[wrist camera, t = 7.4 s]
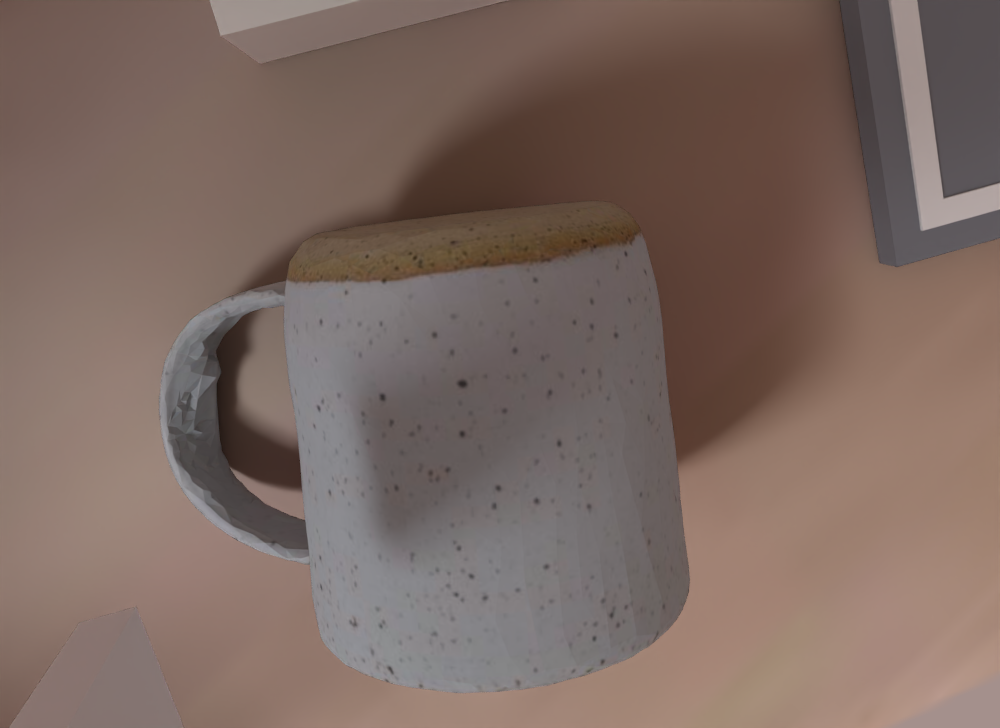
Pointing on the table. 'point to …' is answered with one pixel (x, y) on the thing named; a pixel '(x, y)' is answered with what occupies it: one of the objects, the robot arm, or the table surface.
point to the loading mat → (927, 121)
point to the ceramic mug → (462, 444)
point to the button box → (320, 21)
